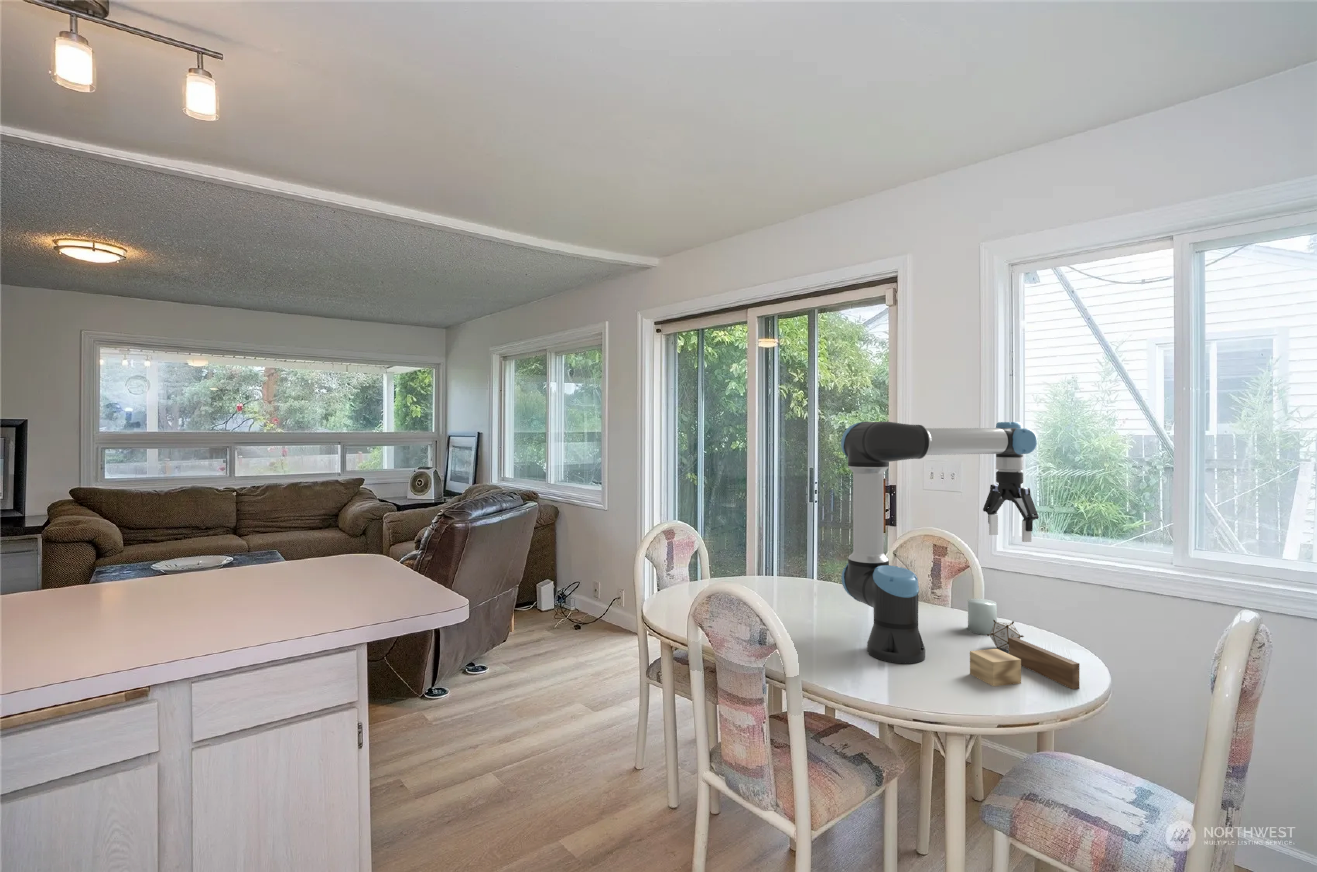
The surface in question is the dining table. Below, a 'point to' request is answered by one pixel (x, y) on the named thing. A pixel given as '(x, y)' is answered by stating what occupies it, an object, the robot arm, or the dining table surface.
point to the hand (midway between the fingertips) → (1009, 538)
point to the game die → (1003, 634)
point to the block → (995, 667)
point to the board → (1045, 662)
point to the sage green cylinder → (981, 615)
